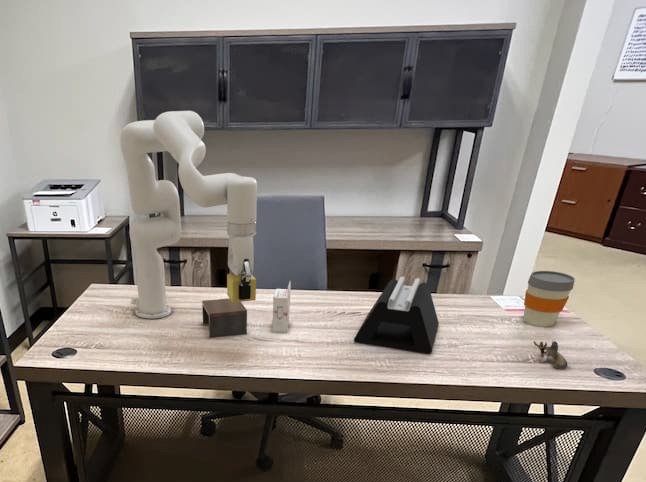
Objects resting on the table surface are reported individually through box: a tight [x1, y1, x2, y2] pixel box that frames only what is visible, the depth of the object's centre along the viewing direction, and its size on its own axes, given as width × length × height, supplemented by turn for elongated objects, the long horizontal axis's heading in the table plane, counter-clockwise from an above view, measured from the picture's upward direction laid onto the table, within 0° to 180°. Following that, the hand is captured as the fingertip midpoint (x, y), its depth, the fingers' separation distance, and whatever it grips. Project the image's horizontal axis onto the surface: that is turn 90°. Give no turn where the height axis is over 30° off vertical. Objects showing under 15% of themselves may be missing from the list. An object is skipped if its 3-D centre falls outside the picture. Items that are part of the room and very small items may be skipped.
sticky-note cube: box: [226, 273, 257, 303], centre depth 146 cm, size 6×6×6 cm
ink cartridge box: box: [271, 280, 292, 333], centre depth 169 cm, size 9×5×15 cm, turn 168°
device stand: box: [353, 276, 440, 355], centre depth 163 cm, size 22×22×15 cm
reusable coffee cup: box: [523, 270, 576, 328], centre depth 170 cm, size 13×13×15 cm
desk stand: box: [201, 297, 248, 339], centre depth 171 cm, size 12×12×8 cm
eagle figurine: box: [533, 339, 568, 370], centre depth 147 cm, size 8×7×9 cm
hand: (241, 294), depth 147 cm, fingers closed on sticky-note cube, 6 cm apart
